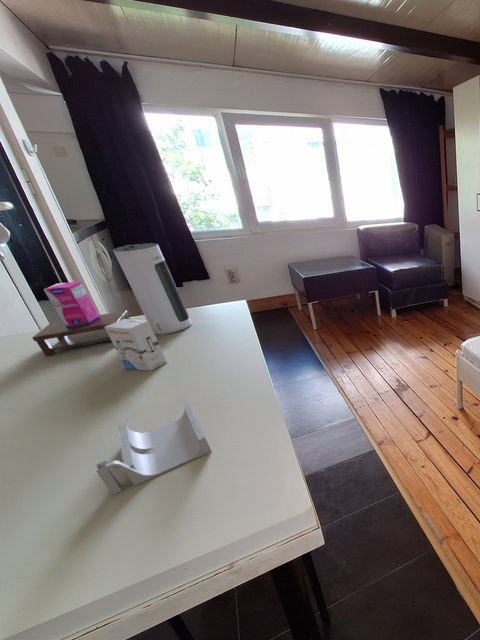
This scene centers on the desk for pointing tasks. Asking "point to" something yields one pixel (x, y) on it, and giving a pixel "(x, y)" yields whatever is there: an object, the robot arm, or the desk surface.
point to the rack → (77, 333)
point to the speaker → (153, 287)
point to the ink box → (136, 344)
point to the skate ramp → (156, 450)
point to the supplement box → (72, 303)
